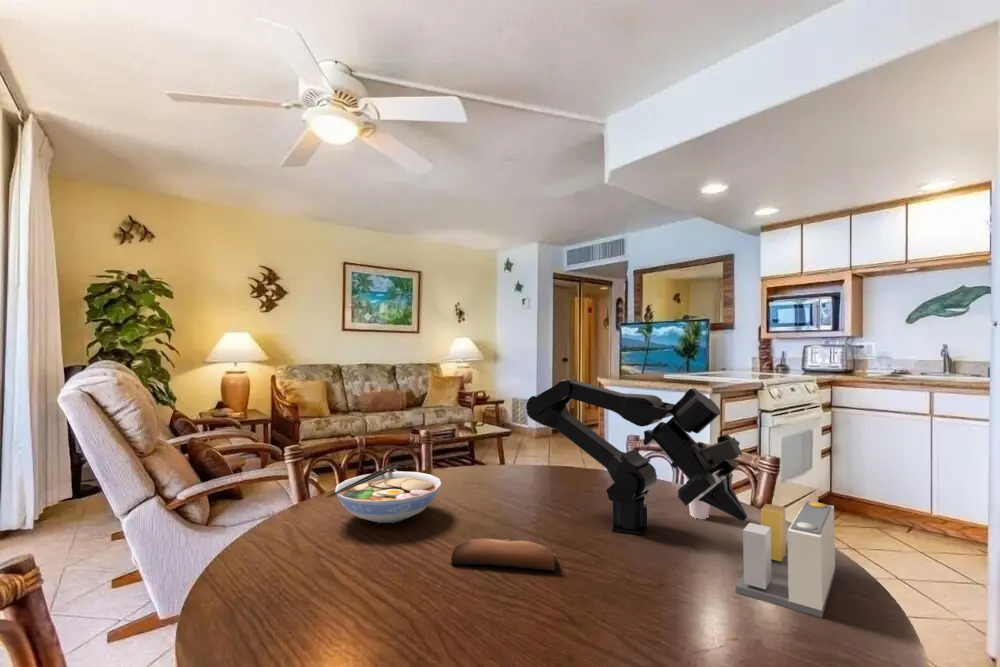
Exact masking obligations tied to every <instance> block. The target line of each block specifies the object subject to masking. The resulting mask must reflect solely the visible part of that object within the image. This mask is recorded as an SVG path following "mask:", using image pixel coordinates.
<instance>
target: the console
mask: <svg viewBox="0 0 1000 667" xmlns="http://www.w3.org/2000/svg"><path fill="white" fill-rule="evenodd" d="M791 522H792V523H791V524H790V526H789V527H788V529H786V530H787V555H786V554H785V556H784V558H783V560H782V562H781V561H777V560H773V559H771V576H772V580H771V581H770V583H769V585H768V587H767V589H762V588H759V587H755V586H751V585H748V584H744V574H743V575H742V576H741V578H740V580H738V582H737V583H736V584H735V593H736V594H739V595H743V594H744V596H746V595H747V596H746V597H749V596H751V597H750V598H753V597H754V598H753V599H756V598H758V599H757V600H759V599H760V600H759V601H763V602H766V601H767V603H770V604H774V605H777V606H780V607H784V608H787V609H790V610H793V611H797V612H799V613H803V614H808V615H810V616H815V617H817V618H821V619H823V617H824V613H825V609H826V606H827V603H828V598H829V595H830V592H831V589H832V585H833V582H834V579H835V576H836V550H835V549H836V548H835V547H836V544H835V542H836V541H835V538H836V537H835V505H831V504H825V503H823V502H822V503H821V502H816V501H806V500H805V501H804V503H803V505H802V506H801V508H800V510H799V511H798V513H797V514H796V516H795V518H794V519H793V521H791Z"/></svg>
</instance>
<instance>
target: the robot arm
mask: <svg viewBox="0 0 1000 667" xmlns="http://www.w3.org/2000/svg"><path fill="white" fill-rule="evenodd" d="M572 400H575V401H577V402H582V403H585V404H588V405H591V406H595V407H598V408H602V409H605V410H608V411H611V412H614V413H615V414H617V415H619V416H620V417H621V418H623V419H624V420H626V421H628V422H630V423H631V424H633V425H635V426H638V427H641V428H642V427H647V426H648V427H649V426H650V425H654V424H656V423H657V424H656V426H654V427H653V428H652V429H647V430H645V431H643V435H644V437H643V445H644V446H649V445H652V444H653V443H654V442H655V443H656V445H658V446H659V448H660V449H661V450H662V451H663V452H664V453H665V454H666V455H667V457H668V458H670V460H671V461H672V462H671V463H670V466H671V467H672V468H673V469H676V468H678V469H679V470H680V471H681V473H682V474H684V475H685V476H686V477H687V478H688V479H689V480H688V481H687V482H686V481H685V484H684V485H682V486H681V487H680V488H678V489H677V494H678V495H677V497H678V499H679V500H680V502H682V503H683V505H684V506H685V507H687V506H689V503H691V502H692V501H693V500H694V499H695V498H697V497H698V496H699V495H700V494H701V493H702V494H703V495H704V496H702V497H701V498H700V499H699V501H700V502H701V501H703V502H705V503H707V504H709V505H710V506H712V507H713V508H716V509H718V510H719V511H722V512H724V513H726V514H727V515H729V516H732V517H734V518H736V519H738V520H740V521H741V522H742V521H745V520H746V519H747V518H748V514H747V513H746V511H745V510H744V507H743V505H742V503H741V502H740V499H738V498H739V497H738V496H737V495H736V493H735V491H734V488H733V486H732V483H733V477H734V474H733V473H731V472H732V471H733V470H735V469H736V468H737V467H738V466H739V464H738V463H737V462H736V461H735V459H737V458H739V456H742V455H743V452H742V450H741V449H740V441H738V440H737V439H736V438H735V437H731V436H730V434H728V433H726V434H722V435H720V436H718V437H717V442H716V443H713V444H711V445H708V446H707V445H706V444H705V443H703V442H701V441H699V442H696V441H695V440H694V439H693V438H692V436H691V435H690V434H691V433H694V434H700V433H701V432H702V431H703V430H704V429H706V428H707V426H708V425H709V424H711V423H712V422H714V420H716V418H718V417H719V416H720V415H721V413H722V412H721V410H720V408H719V407H718V405H717V404H716V403H715V402H714V401H713V400H712V398H709V397H708V396H706V395H705V394H703V393H702V392H699V391H698V390H697V389H696V387H692V388H689V389H688V390H687V391H686V392H685V393H684V394H683V396H682V397H681V398H680V399H679V400H678V401H677V402H676V403H675V404H674V403H669V402H665V401H663V400H662V398H661V397H659V396H656V395H654V394H643V393H642V394H641V393H623V392H619V391H616V390H613V389H608V388H605V387H602V386H598V385H597V386H596V385H593V384H590V383H586V382H582V381H580V380H577V379H575V378H566V379H562V380H560V381H559V382H558V383H556V384H555V385H554V386H552V387H550V388H549V389H545V391H543V392H541V393H539V394H538V395H537V394H536V395H532V396H531V397H529V399H528V400H527V402H526V415H527V417H528V418H529V419H531V420H532V421H534V422H536V423H538V424H540V425H542V426H545V427H549V428H552V429H554V430H557V431H558V432H559V433H560V434H562V435H563V436H565V437H566V438H567V439H568V440H570V441H571V442H572V443H573V444H574V445H576V446H577V447H578V448H580V449H581V450H582V451H584V452H585V453H586V454H587V455H589V456H590V457H591V458H592V459H593V460H595V461H596V462H597V463H599V464H600V465H601V466H602V467H604V468H605V470H607V472H608V474H609V476H610V478H611V480H612V481H613V484H611V485H610V486H609V487H608V488H607V489H606V494H607V497H608V500H609V501H612V525H611V528H610V529H611V531H613V532H619V533H627V534H635V535H637V534H638V535H645V534H646V530H647V529H649V528H648V527H649V505H648V504H646V499H645V498H646V497H645V496H647V495H648V494H649V491H650V489H652V488H654V487H655V485H656V484H657V479H658V478H657V477H658V474H657V472H656V468H655V467H654V466H653V464H651V463H650V462H651V459H648V458H645V457H644V456H643V455H642V454H640V453H639V451H638V450H636V449H632V450H628V451H627V452H624V451H621V450H619V449H618V448H617V447H616V446H614V445H613V444H611V443H610V442H608V440H606V439H604V438H603V437H602V436H600V435H599V434H598V433H596V432H595V431H593V429H591V428H590V427H588V426H587V425H585V423H583V422H581V421H580V420H579V419H577V418H576V417H575V416H573V415H572V414H571V413H570V411H569V410H568V409H569V408H567V405H568V404H569V403H570V402H571V401H572ZM669 417H671V418H670V419H669V420H668V421H666V422H664V421H662V420H663V419H666V418H669ZM728 474H729V475H728ZM727 475H728V476H727Z"/></svg>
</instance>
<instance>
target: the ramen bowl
mask: <svg viewBox="0 0 1000 667" xmlns="http://www.w3.org/2000/svg"><path fill="white" fill-rule="evenodd" d="M398 467H399V465H397V464H396V465H393V466H392V464H388V465H386V466H383V467H382V468H380V469H378V470H376V471H374V472H372V473H369V474H368V473H367V474H362V475H358V476H355V477H351V478H349V479H348V478H347V479H345V480H343V481H342V482H340V483H339V484H337V485H336V487H335V490H334V492H333V493H331V494H329V495H326V498H333V497H334V496H336V497H337V499H338V500H339V502H340V503H341V505H343V507H345V509H346V510H347V511H348V512H349V513H351V514H353V516H355V517H357V518H359V519H363V520H366V521H371V522H374V523H375V522H377V523H376V524H379V523H392V524H396V523H395V522H397V523H400V522H399V521H401V522H402V520H403V521H405V520H407V519H408V518H411V517H413V516H416V515H417V514H419V513H421V512H423V511H424V510H425V509H426V508H428V506H429V505H430V504H431V502H432V501H433V500H434V499H435V497H436V496H437V494H438V493H439V491H440V488H441V486H442V484H443V483H442V482H441V479H440V478H439V477H437V476H435V475H432V474H429V473H424V472H420V471H418V472H417V471H398V470H397V469H398ZM395 470H397V471H395ZM404 519H405V520H404Z"/></svg>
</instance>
